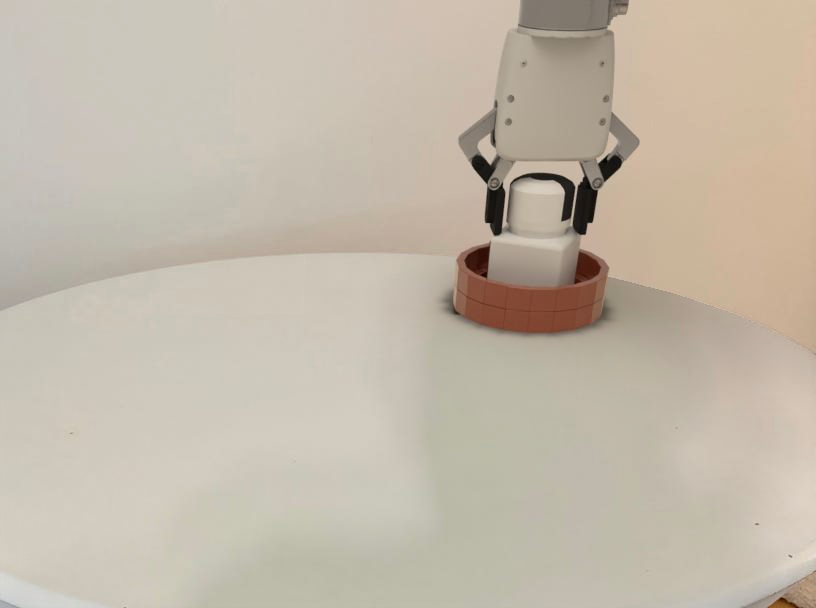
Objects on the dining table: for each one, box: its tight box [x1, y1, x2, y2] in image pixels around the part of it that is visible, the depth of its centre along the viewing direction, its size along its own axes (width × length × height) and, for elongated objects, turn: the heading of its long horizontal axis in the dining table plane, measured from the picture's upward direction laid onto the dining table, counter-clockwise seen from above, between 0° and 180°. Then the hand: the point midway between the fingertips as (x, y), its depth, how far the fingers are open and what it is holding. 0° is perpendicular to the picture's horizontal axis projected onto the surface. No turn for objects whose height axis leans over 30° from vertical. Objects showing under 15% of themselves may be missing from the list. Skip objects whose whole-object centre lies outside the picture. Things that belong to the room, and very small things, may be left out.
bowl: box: [452, 242, 610, 334], centre depth 98 cm, size 15×15×5 cm
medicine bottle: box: [486, 172, 582, 287], centre depth 95 cm, size 7×7×12 cm
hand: (537, 229), depth 94 cm, fingers closed on medicine bottle, 7 cm apart
